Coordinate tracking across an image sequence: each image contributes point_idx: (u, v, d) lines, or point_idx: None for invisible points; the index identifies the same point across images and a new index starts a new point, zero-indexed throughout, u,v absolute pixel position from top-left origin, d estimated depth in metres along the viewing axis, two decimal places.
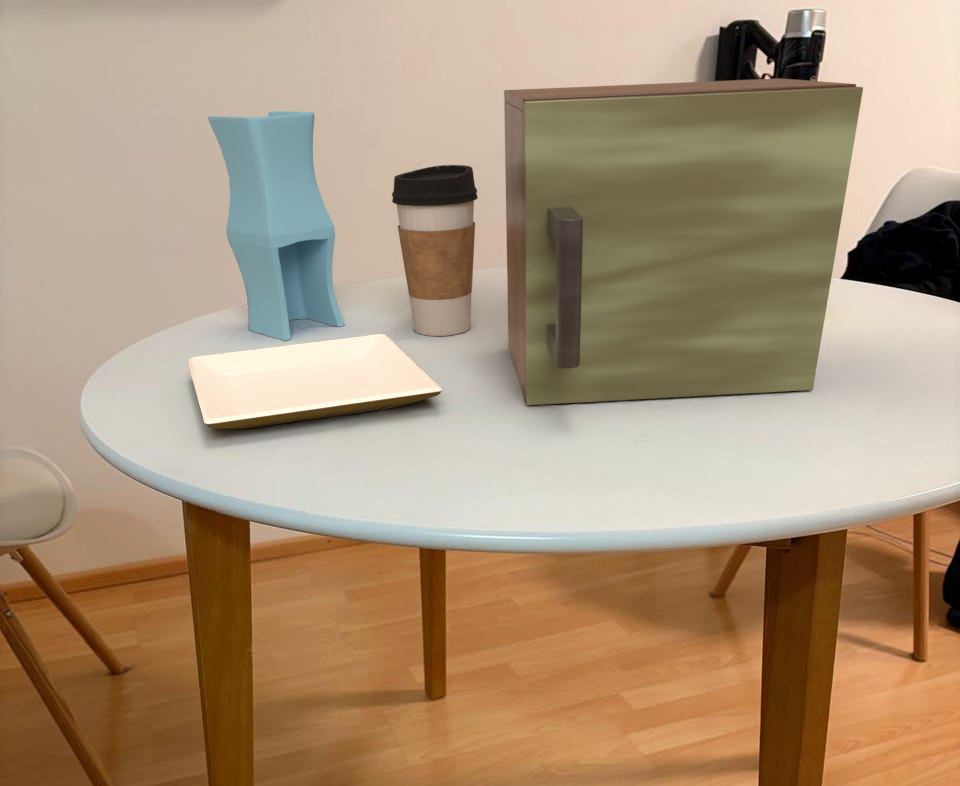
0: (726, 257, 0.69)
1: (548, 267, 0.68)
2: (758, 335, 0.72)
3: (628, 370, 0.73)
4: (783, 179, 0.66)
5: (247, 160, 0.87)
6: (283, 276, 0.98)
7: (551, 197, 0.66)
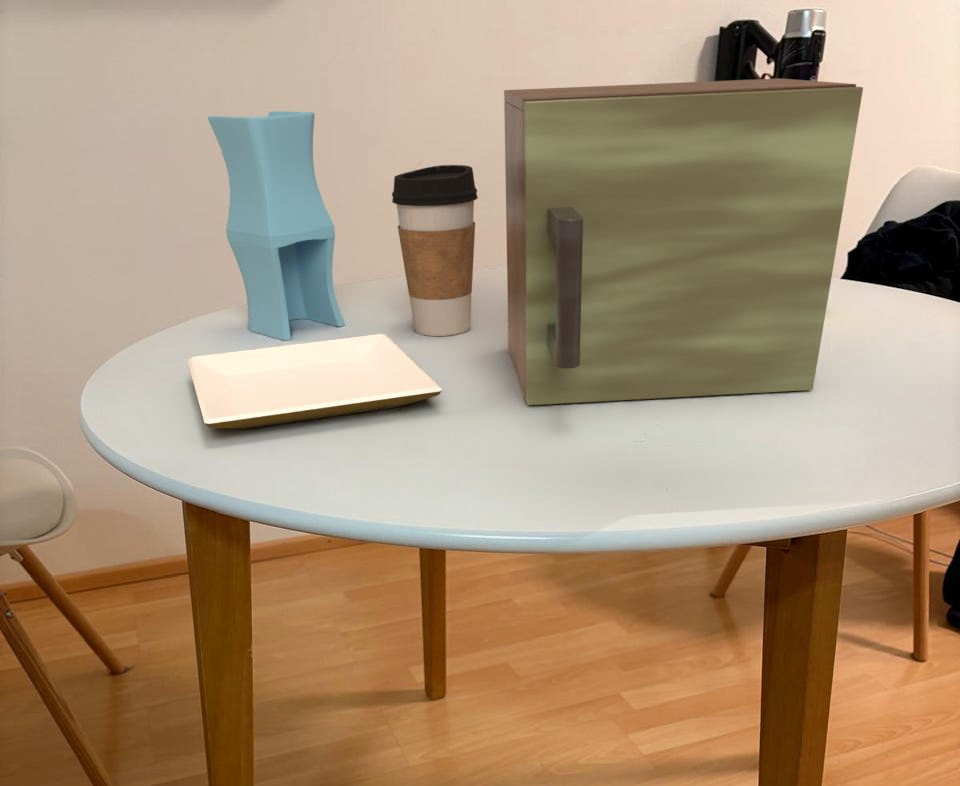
0: (726, 257, 0.69)
1: (548, 267, 0.68)
2: (758, 335, 0.72)
3: (628, 370, 0.73)
4: (783, 179, 0.66)
5: (247, 160, 0.87)
6: (283, 276, 0.98)
7: (551, 197, 0.66)
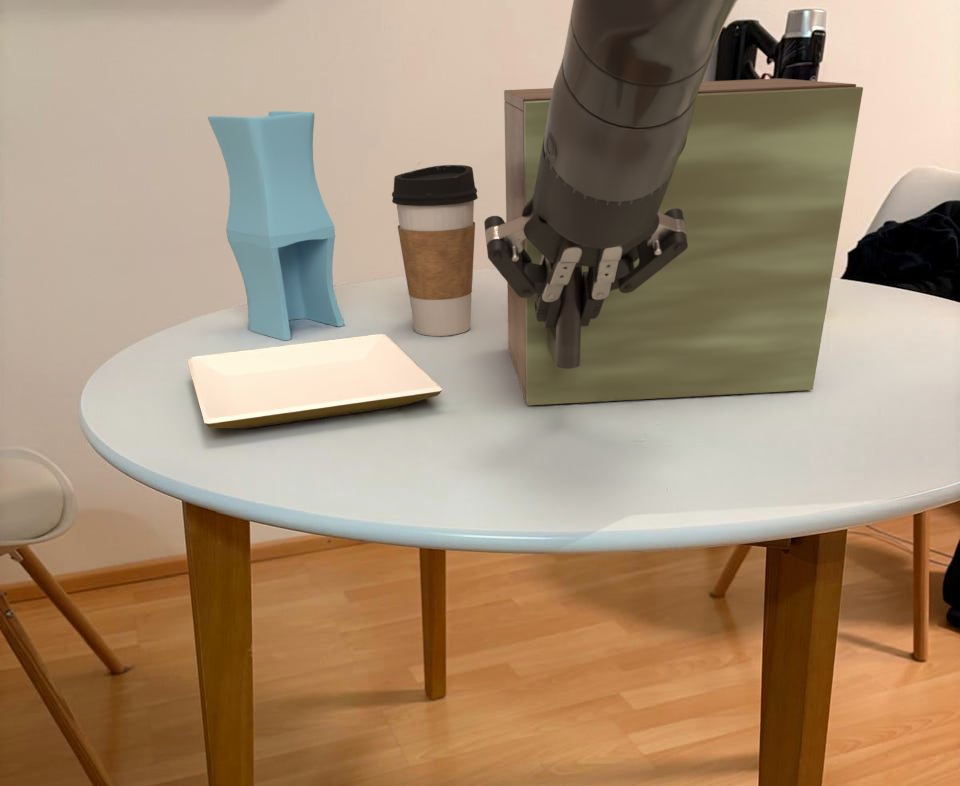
0: (726, 257, 0.69)
1: None
2: (758, 335, 0.72)
3: (628, 370, 0.73)
4: (783, 179, 0.66)
5: (247, 160, 0.87)
6: (283, 276, 0.98)
7: None
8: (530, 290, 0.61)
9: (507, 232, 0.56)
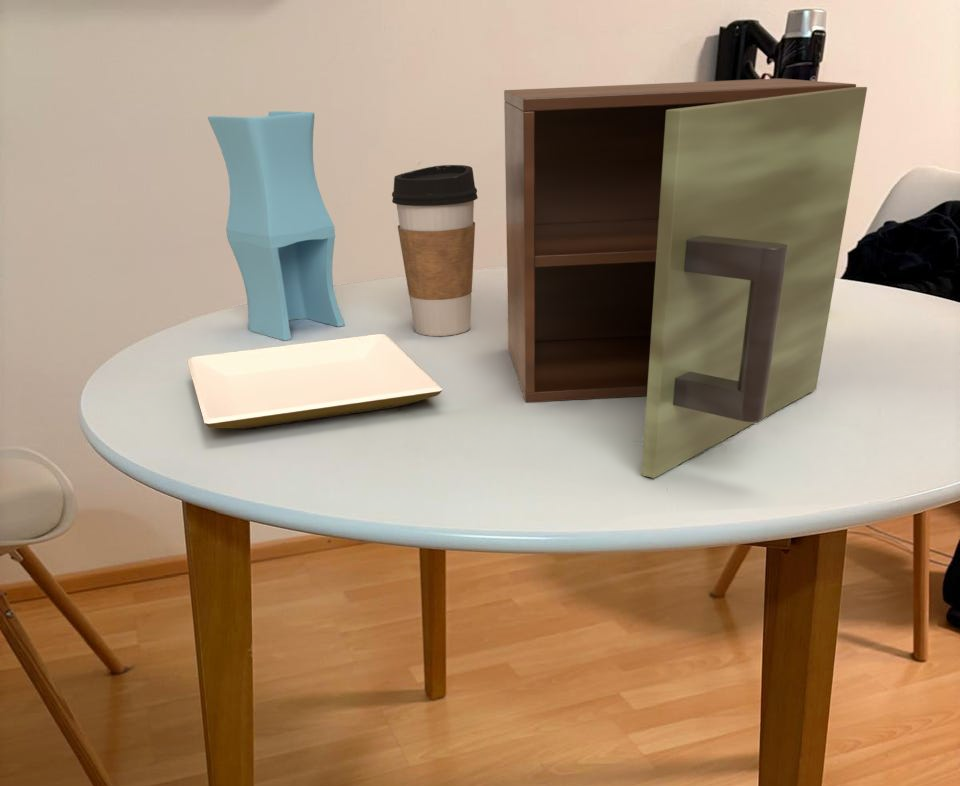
0: (786, 270, 0.64)
1: (680, 311, 0.56)
2: (795, 346, 0.69)
3: None
4: (822, 183, 0.63)
5: (247, 160, 0.87)
6: (283, 276, 0.98)
7: (690, 226, 0.53)
8: None
9: None
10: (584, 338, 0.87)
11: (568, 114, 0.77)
